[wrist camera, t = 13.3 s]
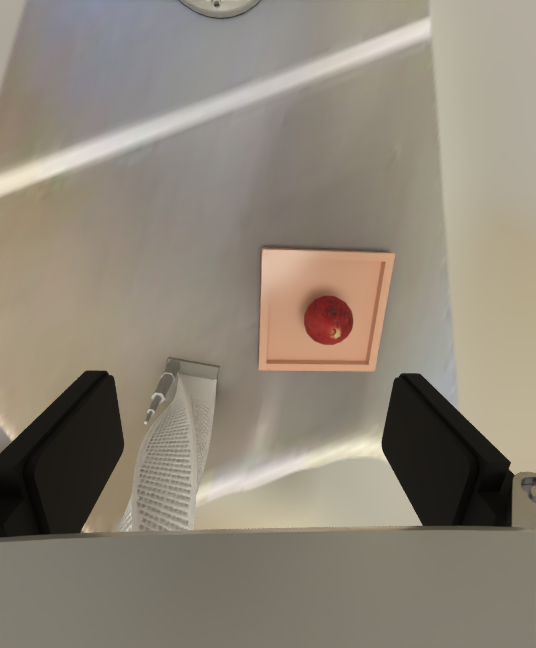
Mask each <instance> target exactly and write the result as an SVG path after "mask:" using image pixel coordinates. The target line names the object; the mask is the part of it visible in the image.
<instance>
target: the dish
mask: <svg viewBox="0 0 536 648" xmlns="http://www.w3.org/2000/svg"><path fill="white" fill-rule="evenodd" d="M394 258H395V253H392V252H389V251H360V250H329V249H298V248H267V247H262V261H261V295H260V329H259V370H288V371H375V366H376V361H377V355H378V349H379V344H380V338H381V332H382V327H383V321H384V315H385V310H386V304H387V298H388V292H389V287H390V281H391V275H392V270H393V264H394ZM322 296H335V297H337V298H339V299H341V300H342V301H344V302H346V304H347V305H348V306H349V308H350V309H351V311H352V315H353V327H352V331H351V332H350V334H349V335H348V337H347V338H345V339H344V340H343V341H342V342H340V343H337V344H334V345H323V344H320V343H318V342H315V341H314V340H313V339H312V338H311V337H310V336H309V335H308V334H307V332H306V329H305V326H304V315H305V312H306V310H307V308H308V306H309V305H310V304H311V303H312V302H313V301H314V300H315V299H317V298H320V297H322Z"/></svg>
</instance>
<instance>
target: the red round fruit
mask: <svg viewBox="0 0 536 648" xmlns="http://www.w3.org/2000/svg"><path fill="white" fill-rule="evenodd" d="M304 326H305V329H306V332H307V334H308V335H309V336H310V337H311V338H312V339H313V340H314V341H315V342H318V343H320V344H323V345H334V344H337V343H340V342H342V341H343V340H344V339H345V338H347V337H348V335H349V334H350V332H351V331H352V327H353V315H352V311H351V309H350V308H349V306H348V305H347V304H346V302H344V301H342V300H341V299H339V298H337V297H335V296H322V297H320V298H317V299H315V300H314V301H313V302H312V303H311V304H310V305H309V306H308V308H307V310H306V312H305V315H304Z"/></svg>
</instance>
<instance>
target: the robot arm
mask: <svg viewBox="0 0 536 648" xmlns="http://www.w3.org/2000/svg"><path fill="white" fill-rule="evenodd" d="M180 1H181V2H182V3H183V4H185V5H186V6H188V7H189V8H191V9H192V10H194V11H196V12H198V13H201V14H203V15H206V16H210V17H217V18H224V17H233V16H236V15H238V14H241V13H244V12H246V11H247V10H249V9H250V8H252V7H253V6H255V5H256V4H257V3H258V2H259V1H260V0H180ZM216 4H218V5H219V7H215V5H216ZM123 448H124V439H123V433H122V426H121V420H120V413H119V407H118V400H117V393H116V387H115V380H114V377H113V376H112V375H109V374H108V372H107V371H85V372H84V373H83V374H82V375H81V376H80V377H79V378H78V379H77V380H76V381H75V382H74V383H73V384H72V385H71V386H70V387H68V388H67V389H66V390H65V391H64V392H63V393H62V394H61V395H60V396H59V397H58V398H57V399H56V400H55V401H54V402H53V403H52V404H51V405H50V406H49V407H48V408H47V409H46V410H45V411H44V412H43V413H42V414H41V415H40V416H38V417H37V418H36V419H35V420H34V421H33V422H32V423H31V424H30V425H29V426H28V427H27V428H26V429H25V430H24V431H23V432H22V433H21V434H20V435H19V436H18V437H17V438H16V439H15V440H14V441H13V442H12V443H11V444H9V446H7V447H6V448H5V449H4V450H3V451H2V452H1V454H0V648H536V473H532V472H520V473H518V474H516V475H514V474H513V473H512V472H511V471H510V470H509V466H510V464H511V462H510V461H509V460H508V459H507V458H506V457H505V456H504V455H503V454H502V453H500V451H499V450H498V449H497V448H495V446H493V445H492V444H491V443H490V442H489V441H488V440H487V439H486V438H485V437H484V436H483V435H482V434H481V433H480V432H479V431H478V430H477V429H476V428H475V427H474V426H473V425H472V424H471V423H470V422H469V421H468V420H467V419H466V418H465V417H464V416H463V415H461V413H460V412H459V411H458V410H457V409H456V408H455V407H454V406H453V405H452V404H450V403H449V402H448V401H447V400H446V399H445V398H444V397H443V396H442V395H441V394H440V393H439V392H438V391H437V390H436V389H435V388H434V387H433V386H432V385H431V384H430V383H429V382H428V381H427V380H426V379H425V378H424V377H423V376H422V375H421V374H416V373H402V374H400V376H399V378H395V380H394V383H393V388H392V393H391V398H390V402H389V407H388V412H387V417H386V422H385V427H384V432H383V437H382V450H383V452H384V454H385V456H386V458H387V460H388V462H389V464H390V466H391V467H392V469H393V471H394V473H395V475H396V477H397V478H398V480H399V482H400V484H401V486H402V488H403V490H404V491H405V493H406V495H407V497H408V499H409V501H410V502H411V504H412V506H413V508H414V510H415V512H416V514H417V515H418V517H419V519H420V521H421V523H422V525H423V526H382V527H381V526H380V527H313V528H262V529H216V530H214V529H213V530H174V531H135V532H98V533H80V532H81V530H82V528H83V526H84V524H85V522H86V520H87V518H88V517H89V515H90V513H91V511H92V509H93V507H94V505H95V503H96V502H97V500H98V498H99V496H100V494H101V492H102V490H103V488H104V487H105V485H106V483H107V481H108V479H109V477H110V475H111V473H112V472H113V470H114V468H115V466H116V464H117V462H118V460H119V458H120V457H121V455H122V452H123Z"/></svg>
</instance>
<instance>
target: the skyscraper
mask: <svg viewBox="0 0 536 648" xmlns="http://www.w3.org/2000/svg"><path fill="white" fill-rule="evenodd" d="M218 370H219V366H215V365H209V364H203V363H198V362H192V361H186V360H181V359H175V358H168V363H167V367H166V370H165V372H164V374H163V375H162V376H161V377H160V378H161V380H160V382H159V385H158V387H157V389H156V391H155V393H154V394H153V395H152V396H151V398H152V400H153V402H152V404H151V406H150V408H149V410H148V411H147V412H148V416H147V418H146V420H145V421H144V424H147V423H148V421H149V419H150V417H151V415H153V414H154V413H155V411H156V408H157V406H158V405H159V403H160V404H161V403H162V402H169V403H171V404H170V405H169V406H168V407H167V408H166V409H165V410H164V411H163V412H162V413H161V414H160V415H159V416H158V417H157V419H156V420H155V421H154V423H153V424H152V425H151V427H150V428H149V430H148V432H147V434H146V435H145V437H144V439H143V442H142V444H141V446H140V449H139V453H138V456H137V460H136V464H135V470H134V477H133V490H132V494H131V497H130V500H129V503H128V506H127V508H126V511H125V513H124V515H123V517H122V519H121V520H120V521H119V523H118V524H117V526H116V527H115V529H114V530H113V532H135V531H174V530H193V527H194V515H195V503H196V494H197V491H198V488H199V485H200V482H201V478H202V475H203V471H204V467H205V463H206V459H207V454H208V449H209V444H210V438H211V432H212V425H213V417H214V407H215V396H216V383H217V375H218Z"/></svg>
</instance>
